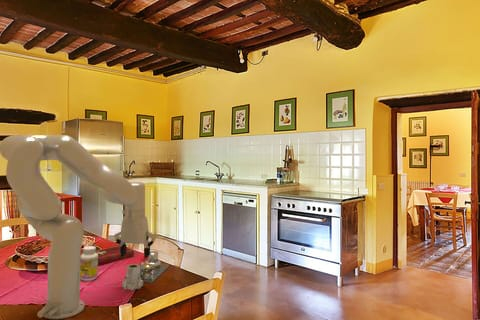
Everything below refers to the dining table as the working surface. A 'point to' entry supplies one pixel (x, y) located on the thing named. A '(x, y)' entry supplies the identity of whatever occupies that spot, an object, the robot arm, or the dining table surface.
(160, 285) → the dining table surface
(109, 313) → the dining table surface
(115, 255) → the hardcover book
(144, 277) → the carrier
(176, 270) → the dining table surface
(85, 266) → the supplement bottle
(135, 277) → the grey flanged socket
